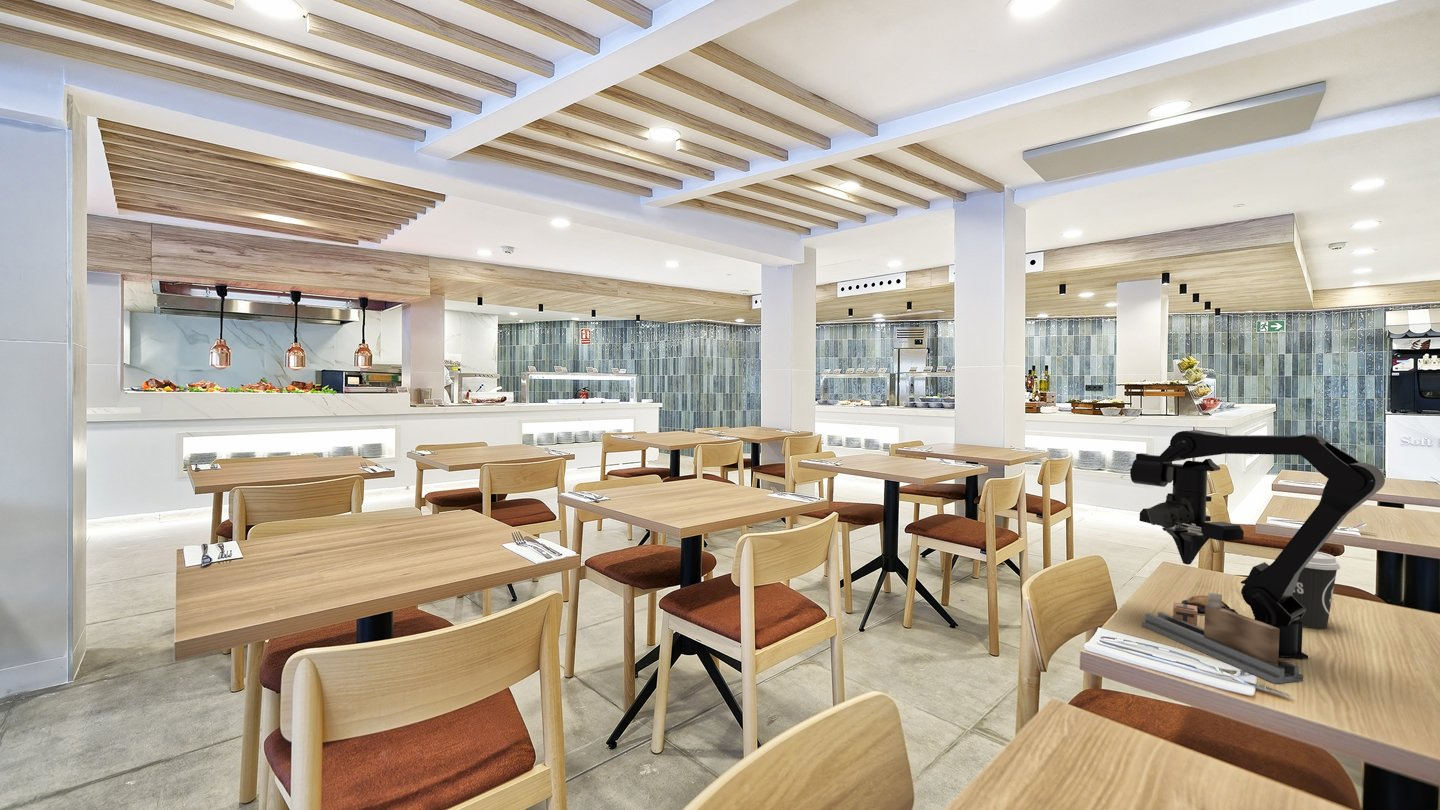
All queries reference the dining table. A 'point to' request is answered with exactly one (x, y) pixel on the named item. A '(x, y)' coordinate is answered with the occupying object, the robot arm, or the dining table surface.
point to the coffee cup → (1316, 590)
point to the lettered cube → (1185, 613)
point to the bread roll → (1203, 604)
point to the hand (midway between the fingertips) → (1186, 564)
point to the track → (1221, 649)
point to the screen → (1240, 631)
